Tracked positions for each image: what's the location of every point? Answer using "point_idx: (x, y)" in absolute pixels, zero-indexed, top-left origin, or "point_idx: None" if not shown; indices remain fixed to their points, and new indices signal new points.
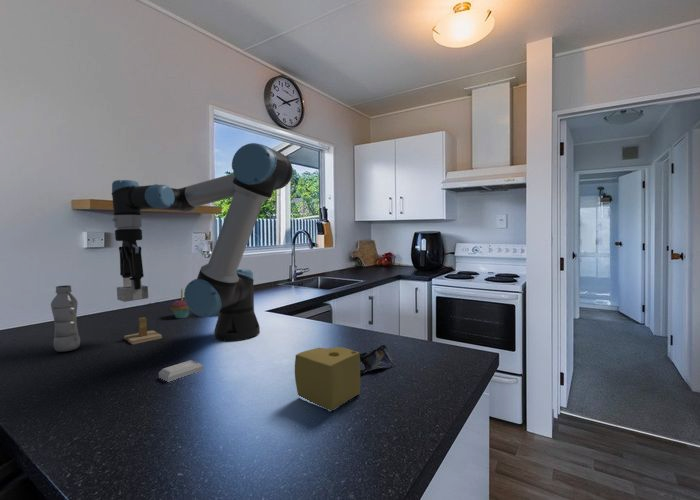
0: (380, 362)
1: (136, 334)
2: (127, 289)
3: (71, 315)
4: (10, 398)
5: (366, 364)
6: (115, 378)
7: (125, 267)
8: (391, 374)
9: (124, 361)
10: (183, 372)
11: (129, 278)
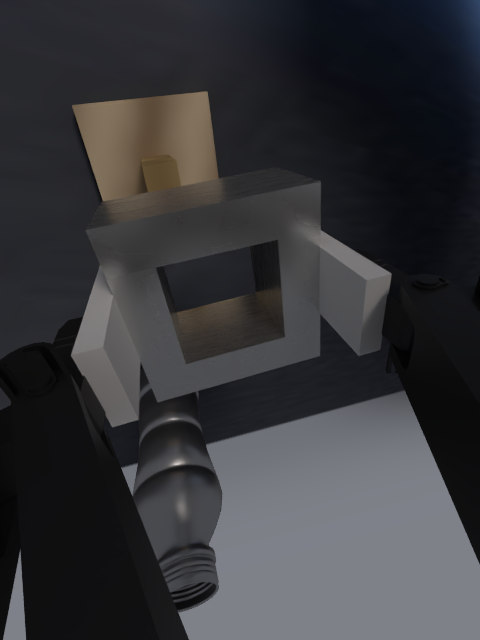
0: None
1: (119, 193)
2: (317, 333)
3: (203, 444)
4: (386, 391)
5: None
6: (446, 270)
7: (146, 545)
8: None
9: (366, 250)
10: None
11: (117, 371)
